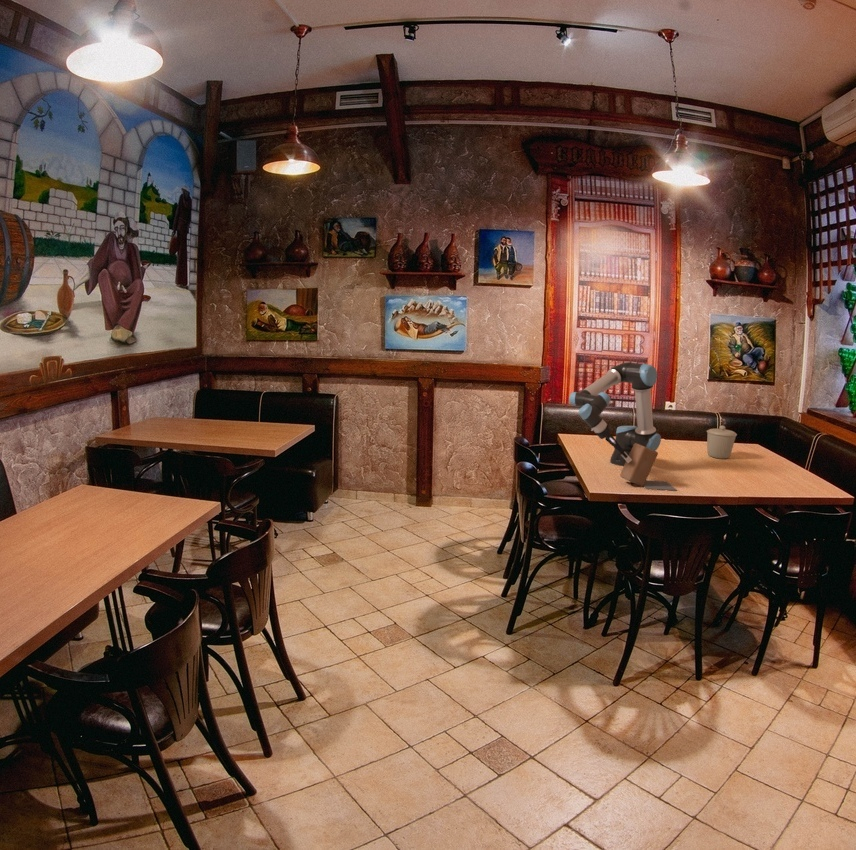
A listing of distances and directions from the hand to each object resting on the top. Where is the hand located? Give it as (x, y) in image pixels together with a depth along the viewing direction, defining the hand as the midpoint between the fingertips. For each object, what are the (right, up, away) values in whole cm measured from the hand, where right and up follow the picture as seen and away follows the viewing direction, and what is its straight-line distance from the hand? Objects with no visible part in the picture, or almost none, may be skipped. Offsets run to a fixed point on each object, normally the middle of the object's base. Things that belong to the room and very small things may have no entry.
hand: (629, 461), depth 323 cm
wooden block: (+2, -11, +3) cm, 12 cm away
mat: (+15, -13, +3) cm, 21 cm away
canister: (+83, -2, +76) cm, 113 cm away
